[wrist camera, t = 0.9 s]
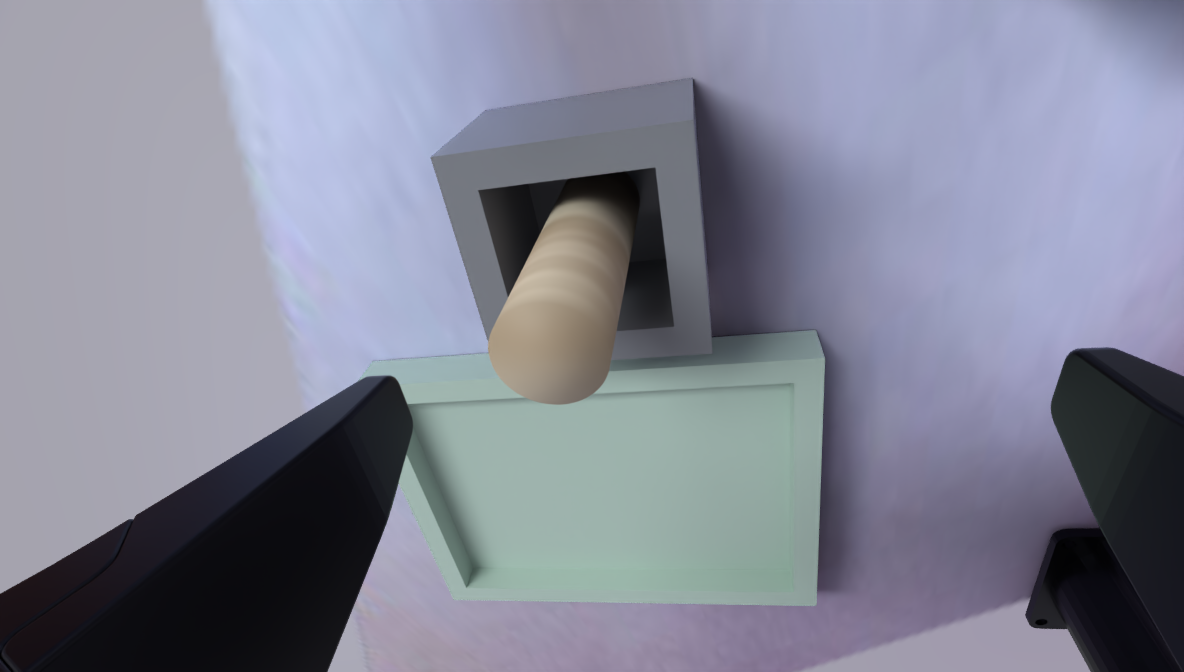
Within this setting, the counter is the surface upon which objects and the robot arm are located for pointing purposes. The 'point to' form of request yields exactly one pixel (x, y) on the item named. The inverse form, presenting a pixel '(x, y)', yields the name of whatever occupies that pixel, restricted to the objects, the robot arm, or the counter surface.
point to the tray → (624, 477)
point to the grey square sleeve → (576, 149)
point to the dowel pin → (569, 294)
